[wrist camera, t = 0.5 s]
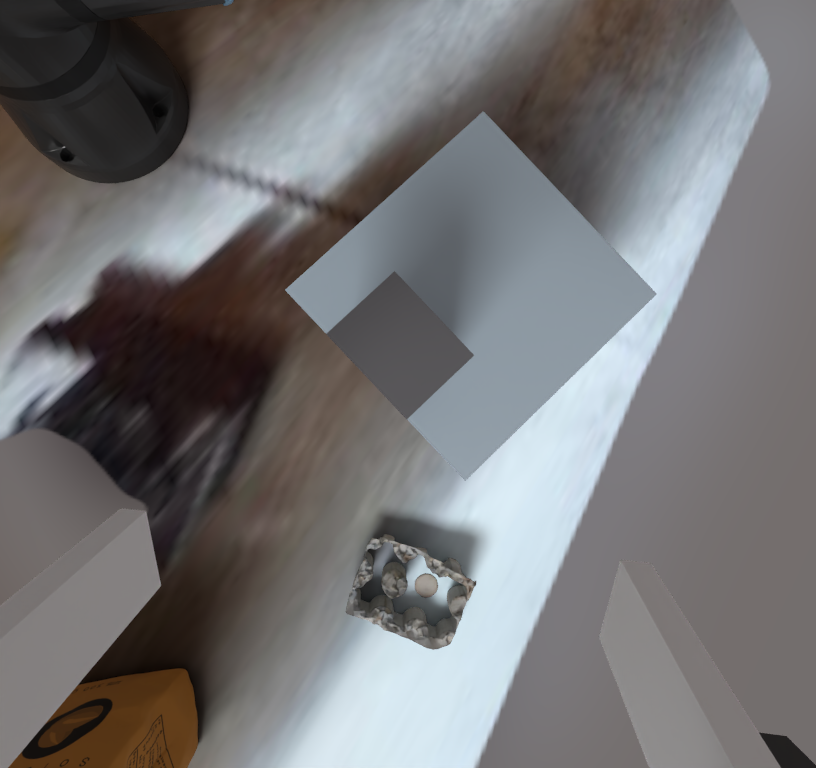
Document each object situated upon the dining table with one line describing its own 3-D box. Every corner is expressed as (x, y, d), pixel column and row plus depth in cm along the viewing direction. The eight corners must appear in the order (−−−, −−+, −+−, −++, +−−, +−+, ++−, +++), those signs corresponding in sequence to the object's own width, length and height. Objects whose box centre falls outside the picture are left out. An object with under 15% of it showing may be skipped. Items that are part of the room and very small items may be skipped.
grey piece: (473, 564, 40) (483, 583, 36) (443, 636, 40) (449, 663, 35) (375, 521, 40) (373, 535, 36) (343, 593, 39) (338, 616, 35)
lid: (462, 478, 27) (504, 522, 17) (288, 293, 27) (229, 231, 17) (649, 297, 28) (788, 240, 18) (480, 119, 28) (528, -33, 18)
